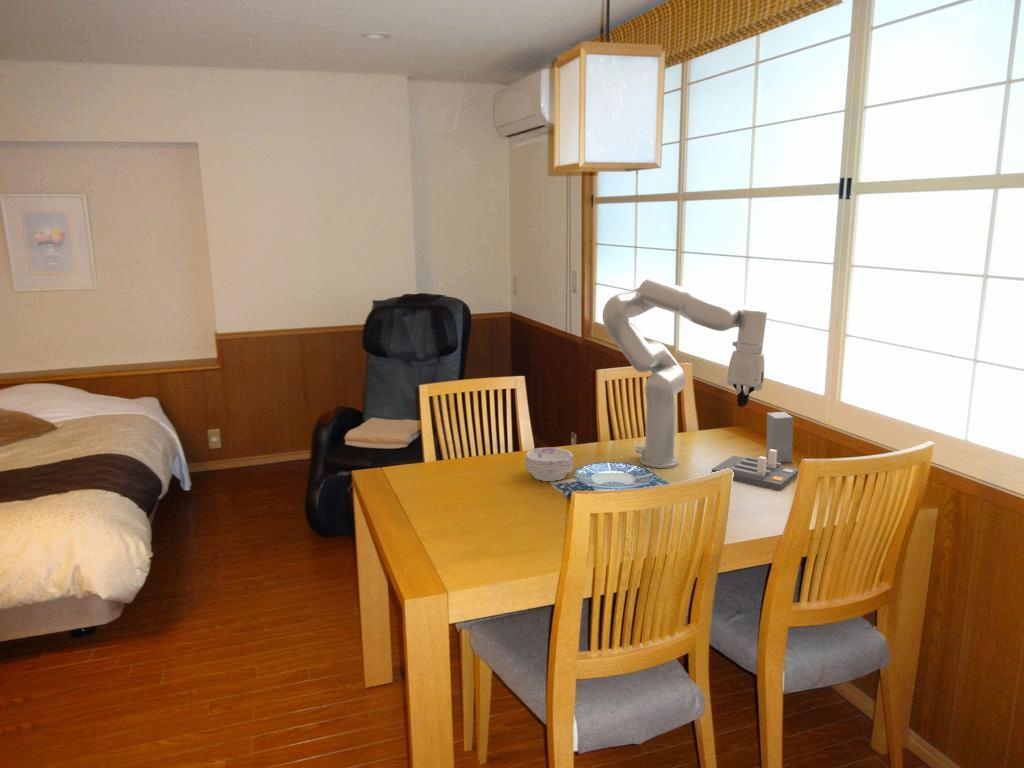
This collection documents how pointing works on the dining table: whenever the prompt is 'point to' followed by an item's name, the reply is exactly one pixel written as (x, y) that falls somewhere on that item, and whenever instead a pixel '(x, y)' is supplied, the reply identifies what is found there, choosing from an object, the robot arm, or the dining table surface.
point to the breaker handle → (772, 457)
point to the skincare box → (780, 435)
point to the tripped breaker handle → (762, 465)
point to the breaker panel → (748, 473)
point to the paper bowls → (549, 463)
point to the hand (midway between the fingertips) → (742, 405)
